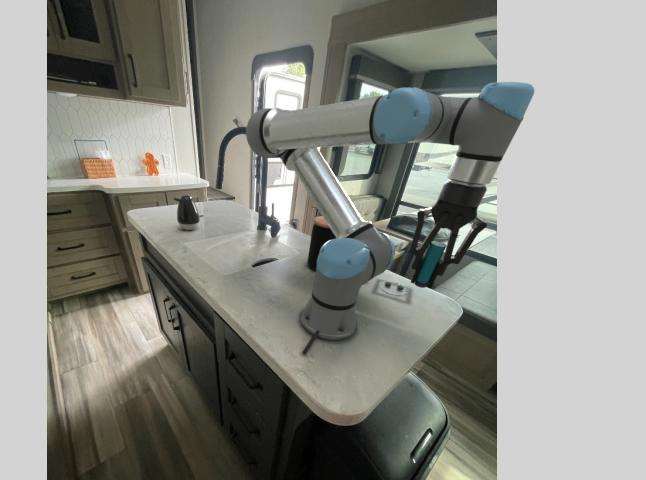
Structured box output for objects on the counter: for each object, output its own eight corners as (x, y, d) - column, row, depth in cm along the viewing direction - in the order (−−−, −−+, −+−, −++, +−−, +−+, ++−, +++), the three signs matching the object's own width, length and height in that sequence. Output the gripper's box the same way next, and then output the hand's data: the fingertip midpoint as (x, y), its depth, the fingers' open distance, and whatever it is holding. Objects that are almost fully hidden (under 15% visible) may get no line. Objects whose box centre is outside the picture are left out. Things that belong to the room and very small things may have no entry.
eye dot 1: (390, 287, 91) (391, 285, 91) (384, 285, 92) (385, 284, 92) (391, 284, 93) (391, 283, 93) (385, 283, 94) (385, 281, 93)
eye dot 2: (402, 290, 90) (403, 289, 90) (396, 289, 91) (397, 287, 90) (403, 288, 91) (404, 286, 91) (397, 286, 92) (397, 284, 92)
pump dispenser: (176, 225, 130) (171, 192, 121) (197, 223, 134) (194, 191, 125) (179, 233, 123) (175, 198, 114) (202, 230, 127) (199, 197, 118)
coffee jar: (333, 261, 108) (342, 217, 98) (335, 274, 100) (346, 227, 89) (306, 258, 109) (313, 214, 99) (307, 271, 100) (314, 224, 90)
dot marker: (426, 289, 65) (446, 247, 59) (412, 285, 66) (430, 244, 60) (427, 283, 68) (446, 243, 61) (413, 280, 69) (431, 239, 62)
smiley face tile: (407, 303, 87) (408, 300, 86) (373, 292, 91) (374, 290, 90) (410, 289, 95) (411, 286, 94) (378, 280, 98) (379, 277, 98)
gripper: (511, 186, 53) (456, 286, 67) (423, 173, 59) (389, 268, 72) (519, 193, 48) (458, 300, 61) (421, 178, 53) (385, 279, 67)
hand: (421, 282), depth 67 cm, fingers closed on dot marker, 3 cm apart
